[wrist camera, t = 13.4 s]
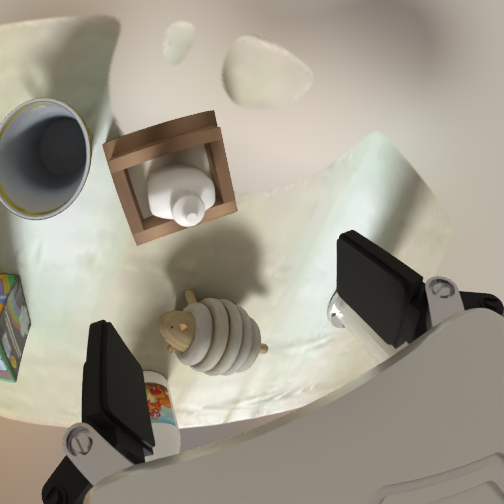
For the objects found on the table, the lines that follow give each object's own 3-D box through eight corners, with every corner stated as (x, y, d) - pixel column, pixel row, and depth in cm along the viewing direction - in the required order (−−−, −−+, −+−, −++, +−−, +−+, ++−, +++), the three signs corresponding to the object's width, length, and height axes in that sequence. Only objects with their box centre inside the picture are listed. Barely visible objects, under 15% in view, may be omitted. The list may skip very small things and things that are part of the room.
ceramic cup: (113, 104, 24) (100, 97, 16) (101, 191, 28) (86, 223, 20) (13, 104, 19) (-30, 105, 11) (7, 188, 23) (-33, 218, 14)
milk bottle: (176, 381, 46) (205, 479, 29) (147, 399, 46) (169, 492, 29) (145, 363, 41) (167, 474, 25) (117, 383, 41) (130, 486, 25)
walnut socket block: (208, 110, 28) (222, 109, 24) (229, 205, 35) (245, 222, 30) (105, 142, 26) (96, 148, 21) (137, 236, 32) (137, 260, 27)
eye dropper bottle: (189, 206, 30) (216, 256, 20) (141, 190, 27) (142, 235, 18) (205, 169, 29) (242, 201, 19) (156, 151, 26) (165, 173, 16)
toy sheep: (167, 267, 35) (180, 322, 26) (270, 295, 44) (304, 342, 35) (144, 326, 38) (152, 386, 29) (240, 343, 47) (265, 393, 38)
